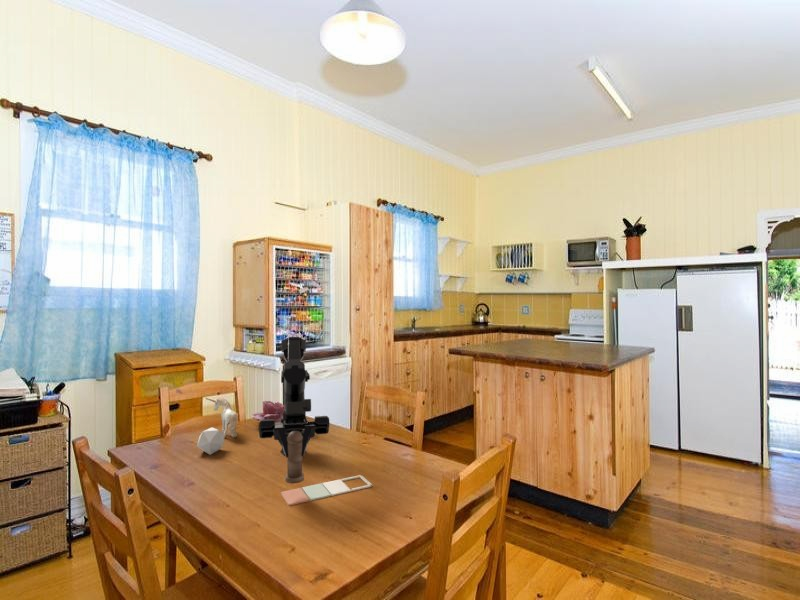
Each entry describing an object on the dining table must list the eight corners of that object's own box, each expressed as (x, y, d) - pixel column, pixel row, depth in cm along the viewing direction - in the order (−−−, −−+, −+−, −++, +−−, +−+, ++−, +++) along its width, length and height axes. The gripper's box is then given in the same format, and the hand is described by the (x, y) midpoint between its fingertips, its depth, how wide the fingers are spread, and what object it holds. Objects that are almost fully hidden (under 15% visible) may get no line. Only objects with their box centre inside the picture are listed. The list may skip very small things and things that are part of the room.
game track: (360, 476, 129) (360, 474, 129) (372, 486, 122) (372, 485, 122) (280, 493, 117) (280, 491, 117) (288, 505, 110) (288, 504, 110)
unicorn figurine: (222, 427, 176) (222, 394, 176) (249, 437, 164) (249, 402, 164) (204, 431, 171) (204, 397, 171) (231, 442, 159) (231, 405, 158)
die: (228, 454, 148) (230, 426, 154) (211, 448, 142) (213, 420, 147) (209, 460, 150) (211, 433, 156) (190, 455, 143) (193, 427, 149)
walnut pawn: (303, 475, 118) (303, 427, 118) (304, 482, 114) (304, 432, 114) (285, 477, 117) (285, 428, 117) (285, 484, 112) (285, 434, 112)
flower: (252, 425, 170) (259, 399, 172) (249, 420, 183) (256, 397, 186) (289, 431, 175) (295, 407, 177) (283, 426, 188) (289, 404, 191)
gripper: (259, 390, 117) (256, 444, 107) (329, 387, 122) (332, 439, 111) (261, 411, 125) (258, 464, 114) (326, 408, 129) (329, 458, 119)
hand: (294, 456), depth 114 cm, fingers closed on walnut pawn, 4 cm apart
